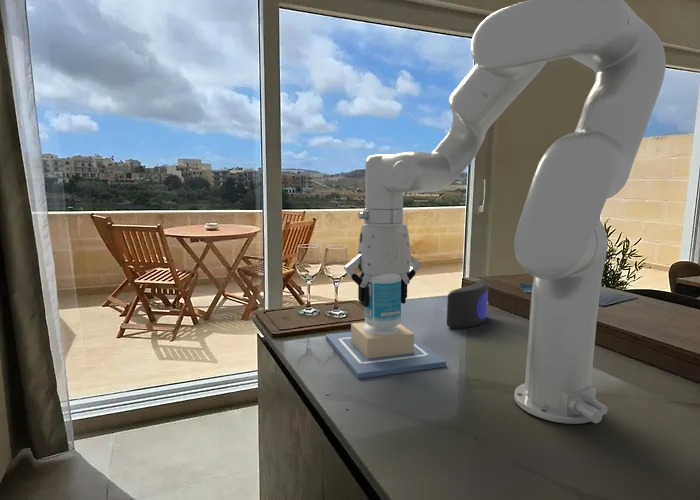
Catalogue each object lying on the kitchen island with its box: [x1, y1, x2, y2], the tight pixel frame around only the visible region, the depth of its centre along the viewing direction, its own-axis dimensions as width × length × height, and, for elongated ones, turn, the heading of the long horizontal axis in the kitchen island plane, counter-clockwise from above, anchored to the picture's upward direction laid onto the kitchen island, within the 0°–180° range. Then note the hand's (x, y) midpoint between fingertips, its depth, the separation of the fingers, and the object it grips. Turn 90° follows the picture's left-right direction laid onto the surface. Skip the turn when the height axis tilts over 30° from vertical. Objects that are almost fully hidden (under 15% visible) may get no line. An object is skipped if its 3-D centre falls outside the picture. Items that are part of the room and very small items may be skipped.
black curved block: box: [446, 281, 489, 330], centre depth 116 cm, size 16×5×9 cm, turn 134°
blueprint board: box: [325, 321, 447, 380], centre depth 98 cm, size 22×18×5 cm
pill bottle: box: [364, 273, 402, 328], centre depth 96 cm, size 8×7×14 cm
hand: (382, 303), depth 96 cm, fingers closed on pill bottle, 7 cm apart
